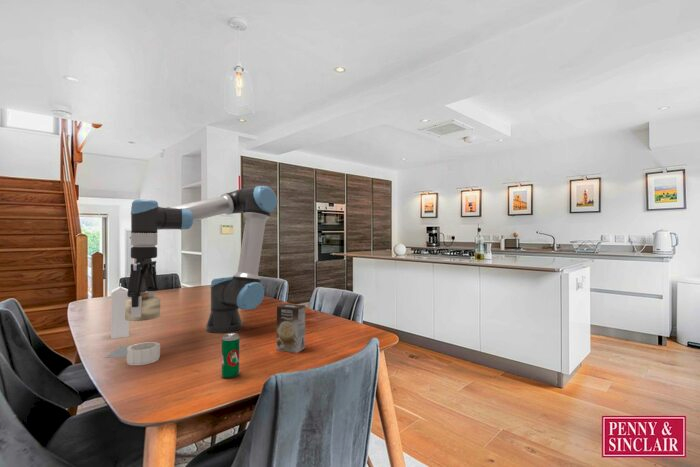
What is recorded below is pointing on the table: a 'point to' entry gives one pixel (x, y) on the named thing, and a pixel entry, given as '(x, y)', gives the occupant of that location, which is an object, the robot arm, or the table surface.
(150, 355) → the bowl
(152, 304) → the beige round piece
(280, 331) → the coffee box
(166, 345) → the table surface
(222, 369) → the soda can
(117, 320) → the milk
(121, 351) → the mat
